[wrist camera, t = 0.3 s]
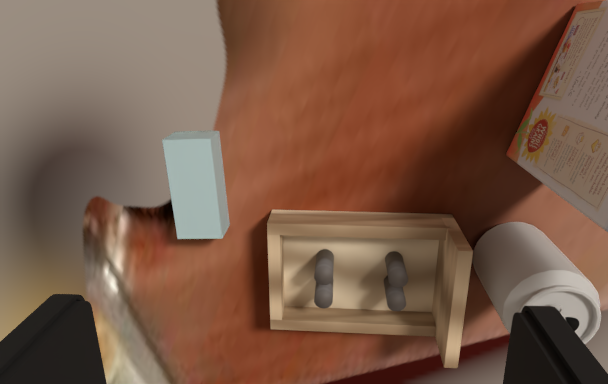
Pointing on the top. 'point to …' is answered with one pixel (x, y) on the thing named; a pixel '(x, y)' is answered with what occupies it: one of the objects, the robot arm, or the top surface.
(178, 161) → the block
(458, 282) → the wooden drawer
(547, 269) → the can
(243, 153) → the top surface
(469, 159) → the top surface
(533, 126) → the cracker box
